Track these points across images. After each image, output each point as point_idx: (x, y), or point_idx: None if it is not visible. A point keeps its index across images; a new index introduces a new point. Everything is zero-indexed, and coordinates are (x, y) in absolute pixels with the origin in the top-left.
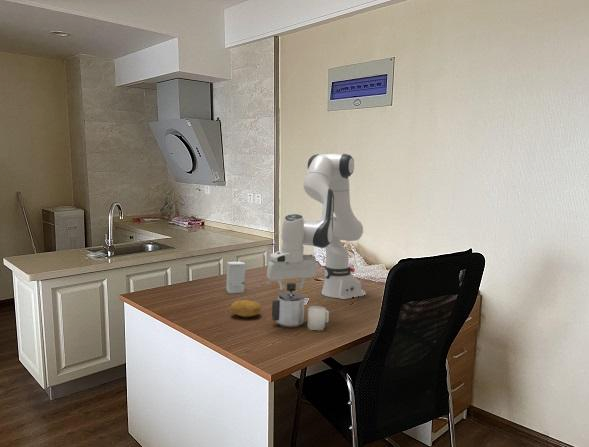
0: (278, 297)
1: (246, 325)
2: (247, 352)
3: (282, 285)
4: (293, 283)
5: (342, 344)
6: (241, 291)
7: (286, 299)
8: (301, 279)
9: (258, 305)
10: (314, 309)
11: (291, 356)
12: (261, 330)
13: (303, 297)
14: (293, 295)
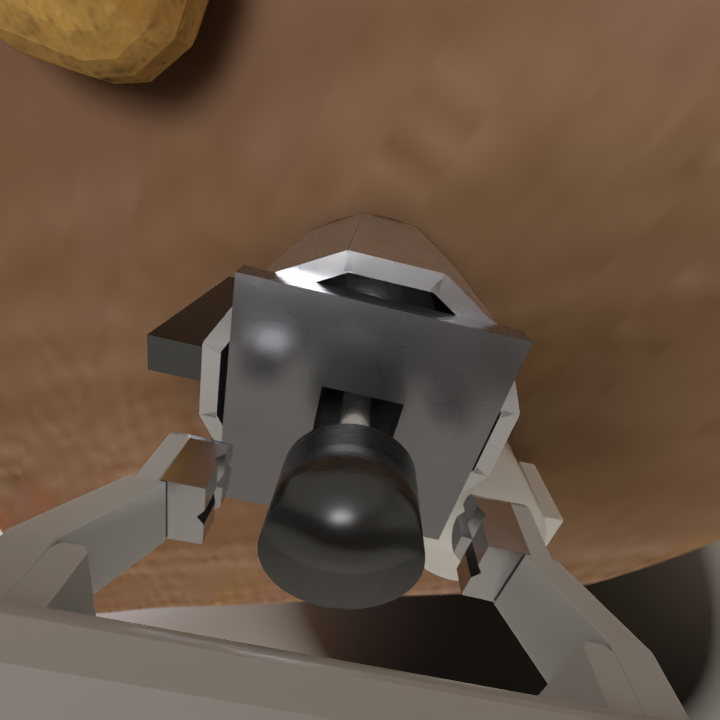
0: (207, 363)
1: (62, 187)
2: (15, 485)
3: (147, 548)
4: (397, 554)
5: (412, 594)
6: None
7: (236, 493)
8: (550, 695)
9: (137, 14)
10: (444, 543)
11: (177, 574)
12: (141, 319)
13: (424, 536)
14: (395, 419)
